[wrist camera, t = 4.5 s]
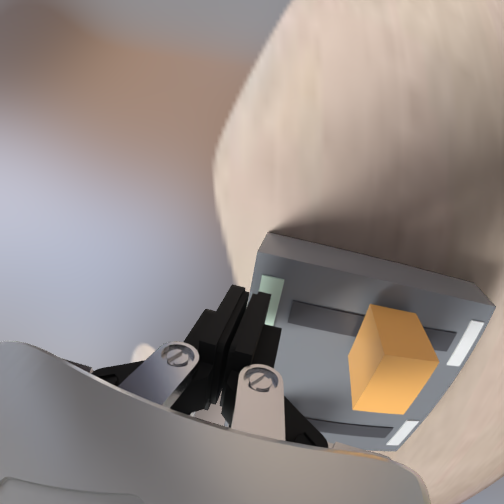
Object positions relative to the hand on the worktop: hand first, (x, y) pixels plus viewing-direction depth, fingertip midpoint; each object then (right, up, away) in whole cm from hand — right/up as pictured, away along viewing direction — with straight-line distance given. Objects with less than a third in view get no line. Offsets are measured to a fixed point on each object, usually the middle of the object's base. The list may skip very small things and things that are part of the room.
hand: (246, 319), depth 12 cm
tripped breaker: (+6, -1, 0) cm, 6 cm away
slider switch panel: (+6, -4, +5) cm, 9 cm away
